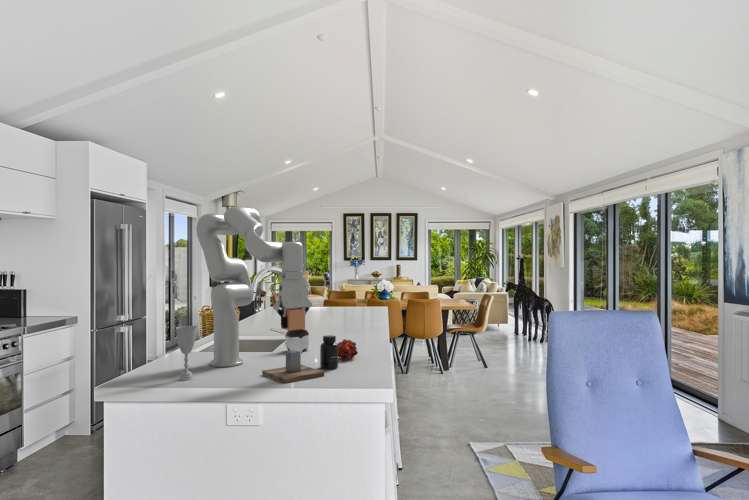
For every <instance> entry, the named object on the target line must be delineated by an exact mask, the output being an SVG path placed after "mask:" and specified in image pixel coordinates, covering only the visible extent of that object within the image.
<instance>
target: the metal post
mask: <svg viewBox="0 0 749 500" xmlns="http://www.w3.org/2000/svg"><path fill="white" fill-rule="evenodd" d="M301 355H302V352H300V351H296V350H293V351H289V350H288V351H285V367H286V371H287V372H290V373H294V372H300V371H301V365H302V364H301V363H302V362H301V361H302V360H301V357H302V356H301Z"/></svg>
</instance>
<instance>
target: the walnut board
mask: <svg viewBox="0 0 749 500" xmlns="http://www.w3.org/2000/svg"><path fill="white" fill-rule="evenodd" d="M261 372H262V373H261V374H263V375H262V376H264V375H265V377H267V376H268V377H267V378H269V377H270V379H272V378H273V379H272V380H275V381H278V382H281V383H283V384H289V383H293V382H300V381H304V380H309V379H316V378H321V377H322V378H323V377H325V371H324V370H320V369H316V368H313V367H310V366H307V365H303V364H301V371H300V372H294V373H290V372H287V371H286V366H284V367H283V366H282V367H278V368H277V367H276V368H270V369H265V370H264V369H263V370H262V371H261Z"/></svg>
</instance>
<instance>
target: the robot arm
mask: <svg viewBox="0 0 749 500" xmlns="http://www.w3.org/2000/svg"><path fill="white" fill-rule="evenodd" d="M196 223H197V224H196V229H195V230H196V232H195V233H196V238H197V239H198V242H199V244H200V246H201V247H200V248H201V249H202V251H203V256H204V261H205V264H206V267H207V272H208V275H209V277H210V279H211V280H212V281H214V282H217V283H218V282H223V283H221V284H218V285H216V286H214V287H213V288H212V290H211V293H210V299H211V301H210V302H211V305H212V311H213V359H212V360H210V361H209V365H210V366H211V367H216V368H222V367H223V368H226V367H228V368H229V367H234V366H235V367H236V366H239V365H242V364H243V362H244V360H243V358H241V357H240V334H239V333H240V327H239V325H240V322H239V314H238V312H237V311H236V309H235V307H244V306H248V305H250V304H251V303H252V302H253V300H254V294H255V293H254V288H253V283H252V280H251V276H250V273H249V269H248V266H247V265H246V263H245V261H244V260H242V258H239V257H229V255H228V254H227V250H226V247H225V245H224V243H223V242H222V240H221V239H219V237H218V236H217V235H219V236H234V235H239V236H240V237H241V238H242V239H243V242H244V246H245V249H246V251H247V252H248V253H249V254H250V255H251V256H252V257H253V258H254V259H256V260H257V261H259V262H261V263H267V264H268V263H281V273H278V277H279V278H280V279H281V280H280V282H279V287H278V296H277V297H278V298H277V301H276V302H275V303H274V304H273V305H272V308H273V310H274V311H275V313H277V314H278V315H279V316H280V327H281V326H282V328H287V327H288V326H287V317H286V315H287V310H288V309H296V308H299V309H305V316H306V315H307V313H308V311H309V309H310V308H311V307H312V305H313V303H312V302H311V300H309V295H308V294H309V293H308V285H307V281H306V280H305V279H304V245H303V243H301V242H299V241H287V242H286V241H265V240H264V239H262V238H261V236H262V234H263V231H264V228H263V227H264V226H263V225H262V223H261V215H260V213H259V211H257V209H256V208H253V207H248V206H247V207H246V206H231V207H229V208H227V209H226V210H225V212H224V213H215V212H213V213H206V214H203V215H202V216H200V217H199V218H198V220H197V222H196ZM224 282H230V283H224Z"/></svg>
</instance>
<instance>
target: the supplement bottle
mask: <svg viewBox="0 0 749 500" xmlns="http://www.w3.org/2000/svg"><path fill="white" fill-rule="evenodd" d="M336 342H337V338H336V335H323V337H322V343H321V344H320V348H319V349H320V352H319V353H320V355H319V356H320V357H319V358H320V359H319V360H320V361H319V368H321V369H323V370H336V369H338V367H339V357H338V343H336Z"/></svg>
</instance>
